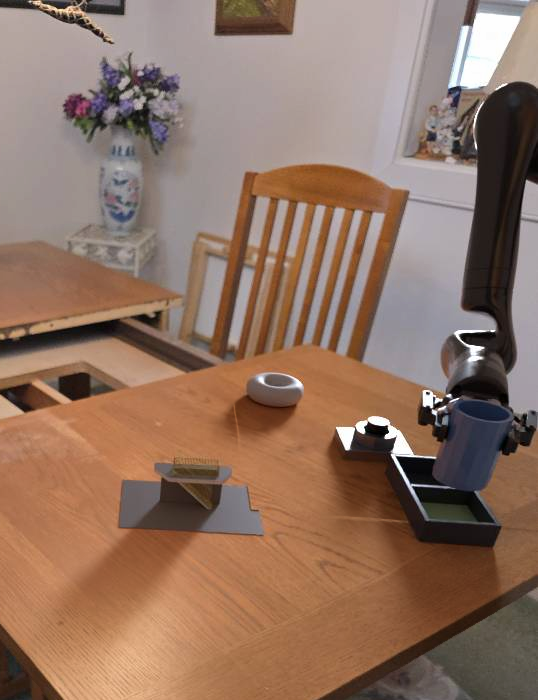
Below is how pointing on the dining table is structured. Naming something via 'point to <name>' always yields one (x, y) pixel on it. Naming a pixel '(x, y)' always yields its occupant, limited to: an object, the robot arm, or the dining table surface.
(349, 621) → the dining table surface
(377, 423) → the button
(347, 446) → the control block
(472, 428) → the cup
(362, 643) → the dining table surface
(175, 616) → the dining table surface
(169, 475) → the platform
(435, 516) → the black divided tray
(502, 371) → the robot arm
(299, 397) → the donut
